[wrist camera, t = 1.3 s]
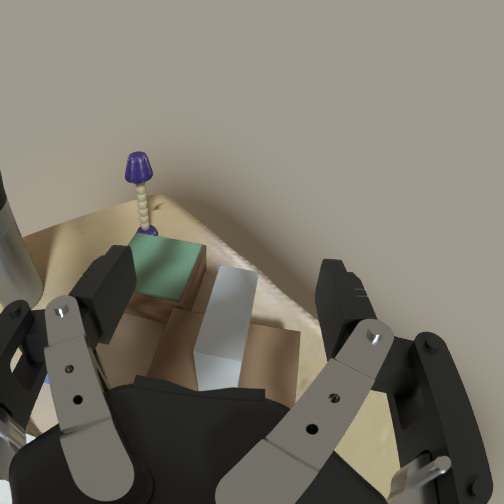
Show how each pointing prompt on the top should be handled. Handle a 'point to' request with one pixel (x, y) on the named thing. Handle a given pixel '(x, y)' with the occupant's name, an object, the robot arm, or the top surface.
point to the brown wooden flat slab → (254, 362)
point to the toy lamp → (140, 187)
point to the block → (225, 329)
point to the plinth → (165, 275)
